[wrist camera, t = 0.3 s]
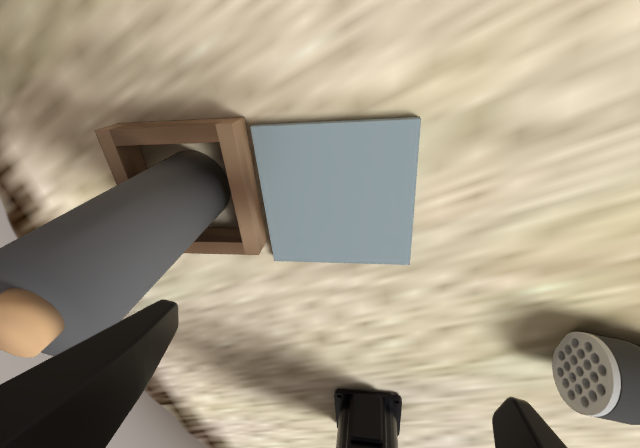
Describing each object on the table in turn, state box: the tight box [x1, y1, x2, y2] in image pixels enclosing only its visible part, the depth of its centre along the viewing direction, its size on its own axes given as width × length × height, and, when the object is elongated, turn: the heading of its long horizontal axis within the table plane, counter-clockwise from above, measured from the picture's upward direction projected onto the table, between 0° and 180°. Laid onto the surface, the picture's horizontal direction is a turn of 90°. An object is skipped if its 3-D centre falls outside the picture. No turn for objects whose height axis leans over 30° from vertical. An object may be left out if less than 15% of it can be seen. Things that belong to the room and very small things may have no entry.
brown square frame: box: [95, 117, 267, 255], centre depth 22 cm, size 9×9×2 cm
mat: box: [250, 117, 421, 265], centre depth 21 cm, size 10×10×1 cm
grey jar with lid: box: [0, 151, 231, 358], centre depth 17 cm, size 5×5×14 cm
